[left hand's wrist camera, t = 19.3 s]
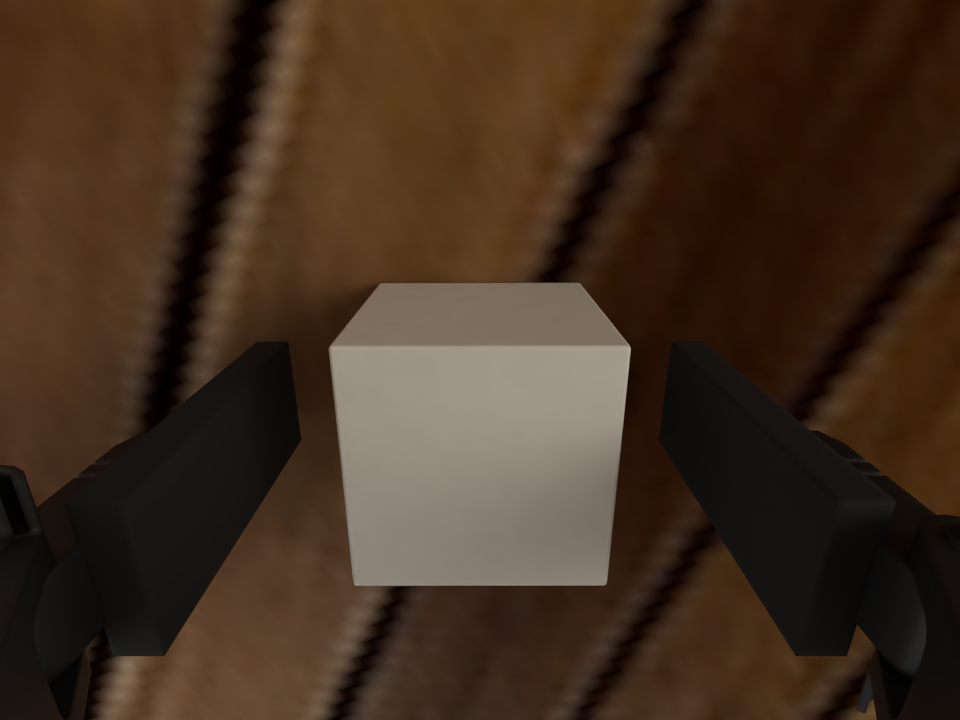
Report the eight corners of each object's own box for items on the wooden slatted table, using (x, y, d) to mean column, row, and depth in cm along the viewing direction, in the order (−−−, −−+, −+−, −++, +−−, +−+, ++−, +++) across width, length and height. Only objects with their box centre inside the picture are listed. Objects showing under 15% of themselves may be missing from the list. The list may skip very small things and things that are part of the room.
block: (580, 282, 14) (632, 346, 9) (568, 458, 15) (607, 586, 11) (379, 282, 14) (326, 346, 9) (391, 458, 15) (353, 587, 11)
